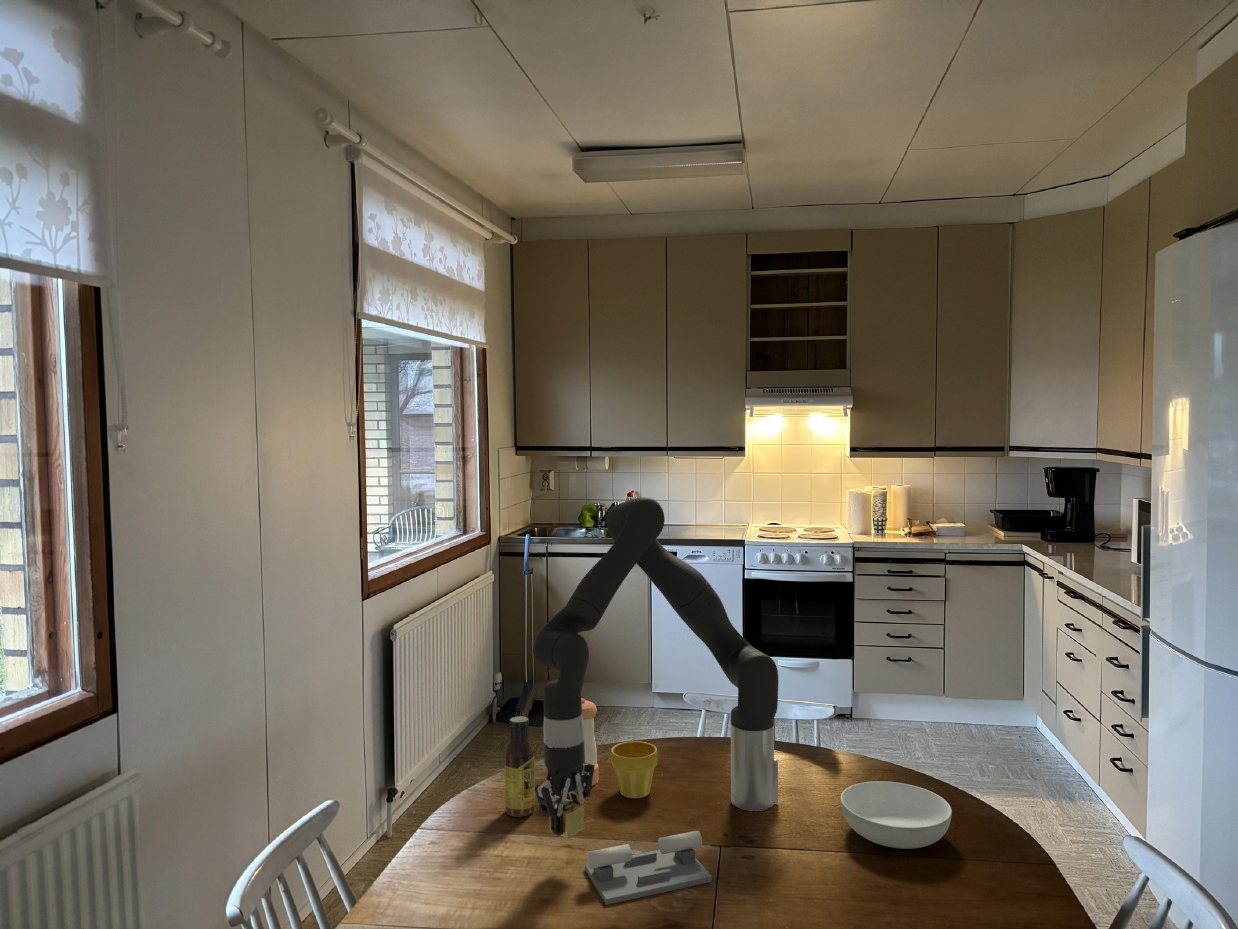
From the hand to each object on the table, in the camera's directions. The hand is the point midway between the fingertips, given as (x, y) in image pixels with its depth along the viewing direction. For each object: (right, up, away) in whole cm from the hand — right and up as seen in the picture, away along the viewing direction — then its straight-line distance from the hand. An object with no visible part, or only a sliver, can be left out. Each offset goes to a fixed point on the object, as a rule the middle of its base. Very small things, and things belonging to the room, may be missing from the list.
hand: (567, 828), depth 152 cm
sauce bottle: (-11, -7, +22) cm, 26 cm away
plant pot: (+13, -6, +31) cm, 34 cm away
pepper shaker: (+1, -6, +37) cm, 38 cm away
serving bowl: (+64, -6, +10) cm, 65 cm away
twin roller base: (+15, -7, -4) cm, 17 cm away
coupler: (0, 0, 0) cm, 1 cm away
